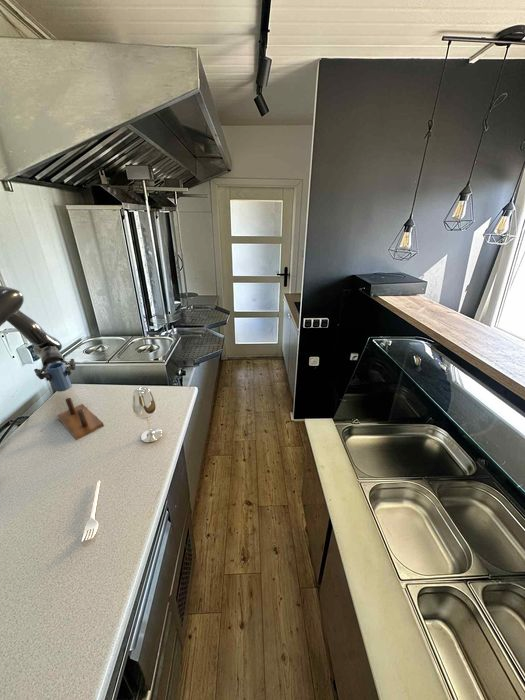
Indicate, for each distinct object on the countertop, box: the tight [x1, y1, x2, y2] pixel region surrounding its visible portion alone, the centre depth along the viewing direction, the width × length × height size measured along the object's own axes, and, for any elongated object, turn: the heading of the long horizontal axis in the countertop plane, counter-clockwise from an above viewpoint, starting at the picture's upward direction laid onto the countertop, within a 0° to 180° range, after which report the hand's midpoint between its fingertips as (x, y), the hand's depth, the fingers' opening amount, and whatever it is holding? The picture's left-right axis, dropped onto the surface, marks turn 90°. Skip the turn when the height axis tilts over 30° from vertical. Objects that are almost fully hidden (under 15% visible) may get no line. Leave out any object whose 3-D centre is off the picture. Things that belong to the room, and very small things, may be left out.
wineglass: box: [131, 386, 163, 443], centre depth 104 cm, size 8×8×20 cm
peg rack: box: [56, 397, 105, 441], centre depth 114 cm, size 10×20×8 cm, turn 50°
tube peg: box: [47, 362, 73, 392], centre depth 111 cm, size 5×5×10 cm
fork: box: [81, 480, 101, 543], centre depth 81 cm, size 3×20×2 cm, turn 20°
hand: (59, 376), depth 109 cm, fingers closed on tube peg, 5 cm apart
